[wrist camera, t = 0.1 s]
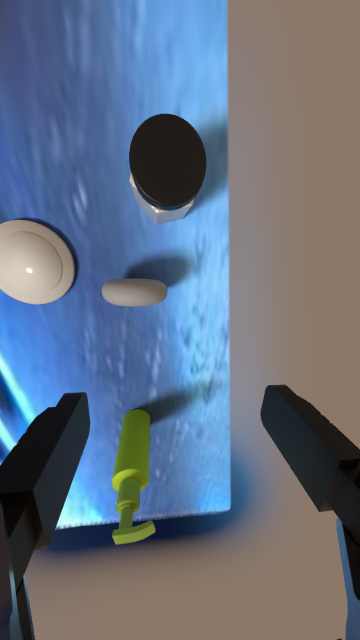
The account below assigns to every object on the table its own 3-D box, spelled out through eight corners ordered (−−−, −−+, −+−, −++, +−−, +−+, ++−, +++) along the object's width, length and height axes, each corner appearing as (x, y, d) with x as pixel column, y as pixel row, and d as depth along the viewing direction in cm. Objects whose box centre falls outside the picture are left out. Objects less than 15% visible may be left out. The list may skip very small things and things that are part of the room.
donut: (165, 277, 36) (170, 284, 26) (165, 296, 37) (169, 309, 27) (108, 276, 34) (91, 283, 25) (110, 295, 35) (94, 309, 26)
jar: (179, 233, 34) (192, 221, 22) (132, 216, 32) (120, 193, 21) (196, 175, 31) (219, 129, 20) (146, 154, 30) (141, 90, 18)
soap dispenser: (156, 426, 46) (158, 545, 27) (126, 432, 45) (106, 557, 26) (152, 405, 44) (150, 518, 25) (121, 411, 43) (95, 531, 24)
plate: (-22, 217, 30) (-29, 215, 28) (70, 224, 31) (67, 223, 30) (-2, 301, 33) (-8, 303, 32) (78, 304, 35) (76, 305, 34)
